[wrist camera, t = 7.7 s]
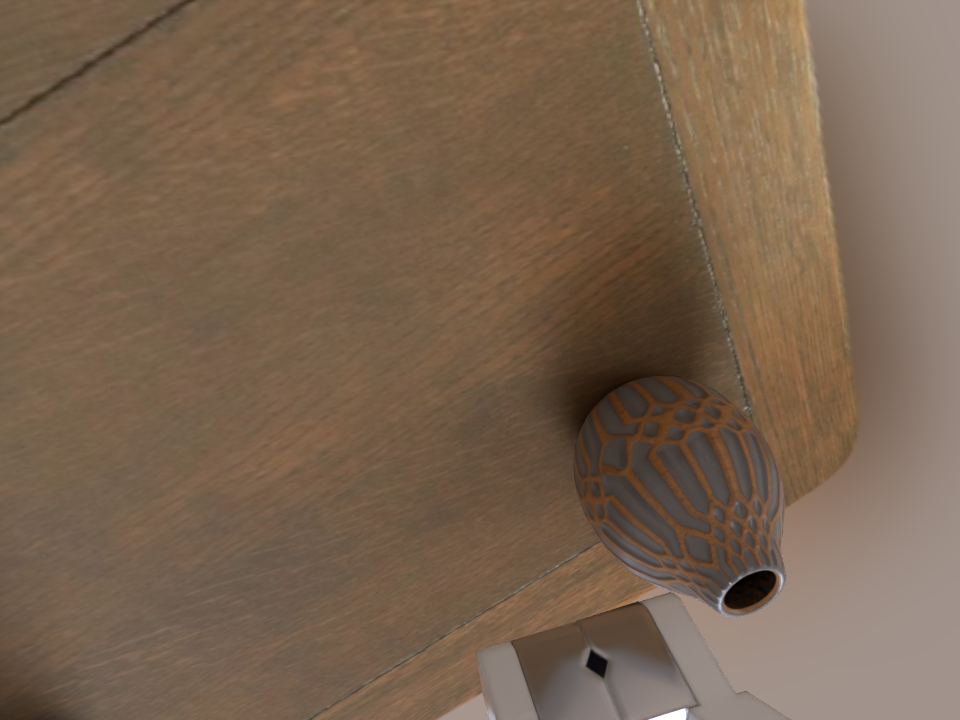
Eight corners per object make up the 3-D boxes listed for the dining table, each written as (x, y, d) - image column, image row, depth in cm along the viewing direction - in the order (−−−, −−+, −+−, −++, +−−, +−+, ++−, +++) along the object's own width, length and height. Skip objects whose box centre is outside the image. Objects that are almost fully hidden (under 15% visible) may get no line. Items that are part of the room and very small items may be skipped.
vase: (546, 498, 31) (636, 684, 24) (556, 361, 28) (666, 538, 21) (695, 468, 33) (820, 636, 26) (725, 335, 29) (881, 491, 22)
